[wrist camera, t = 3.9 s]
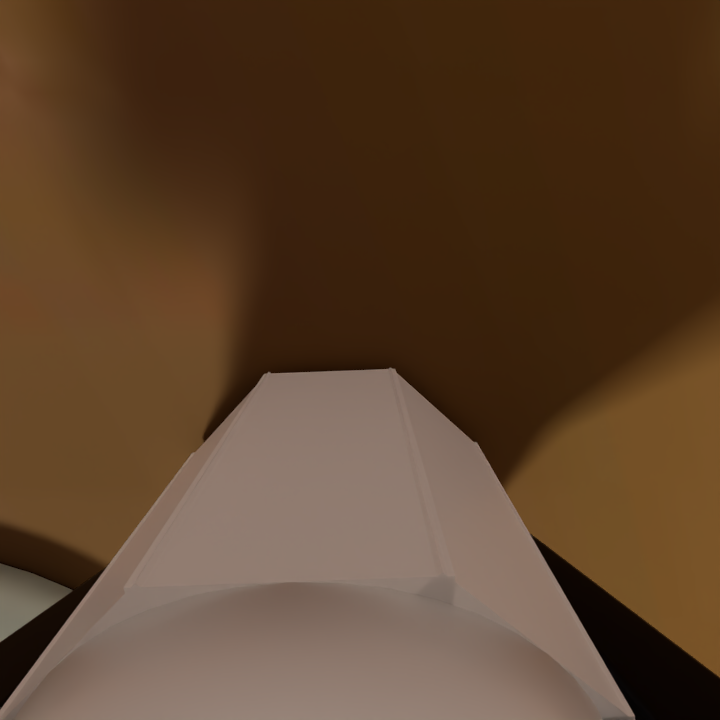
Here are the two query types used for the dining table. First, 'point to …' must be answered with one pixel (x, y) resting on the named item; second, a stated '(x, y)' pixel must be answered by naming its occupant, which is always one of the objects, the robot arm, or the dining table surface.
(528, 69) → the dining table surface
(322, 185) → the dining table surface
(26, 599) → the post stand
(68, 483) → the dining table surface
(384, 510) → the white lidded jar
